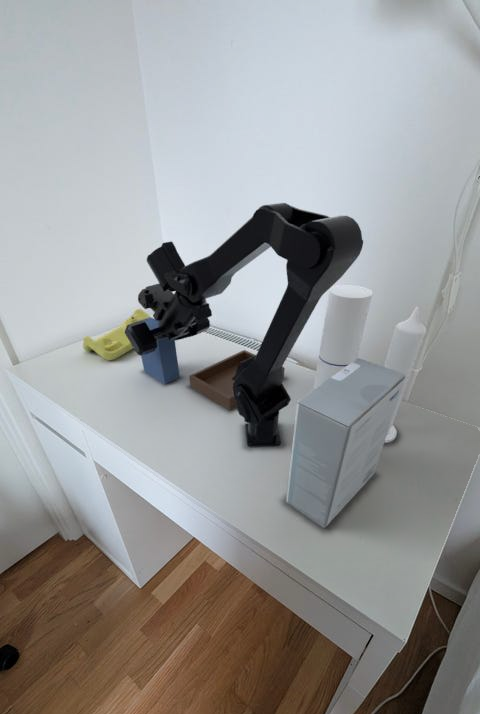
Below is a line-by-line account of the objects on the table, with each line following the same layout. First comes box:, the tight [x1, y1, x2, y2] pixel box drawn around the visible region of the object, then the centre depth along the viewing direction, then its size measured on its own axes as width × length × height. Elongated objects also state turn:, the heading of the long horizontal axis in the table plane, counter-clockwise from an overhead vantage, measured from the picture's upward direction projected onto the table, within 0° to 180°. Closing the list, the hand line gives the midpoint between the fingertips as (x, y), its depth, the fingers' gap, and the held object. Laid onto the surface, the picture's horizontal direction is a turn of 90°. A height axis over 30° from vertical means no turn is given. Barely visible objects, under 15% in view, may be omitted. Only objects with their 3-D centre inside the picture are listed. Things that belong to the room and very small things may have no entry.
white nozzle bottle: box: [383, 306, 427, 444], centre depth 60 cm, size 7×7×25 cm
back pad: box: [134, 316, 181, 385], centre depth 81 cm, size 9×4×13 cm, turn 45°
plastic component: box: [82, 308, 151, 361], centre depth 97 cm, size 20×7×10 cm
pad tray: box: [188, 349, 286, 411], centre depth 81 cm, size 19×14×3 cm
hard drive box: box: [285, 357, 405, 529], centre depth 50 cm, size 16×8×20 cm, turn 136°
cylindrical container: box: [313, 284, 373, 390], centre depth 65 cm, size 7×7×25 cm
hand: (158, 344), depth 79 cm, fingers open, 9 cm apart
